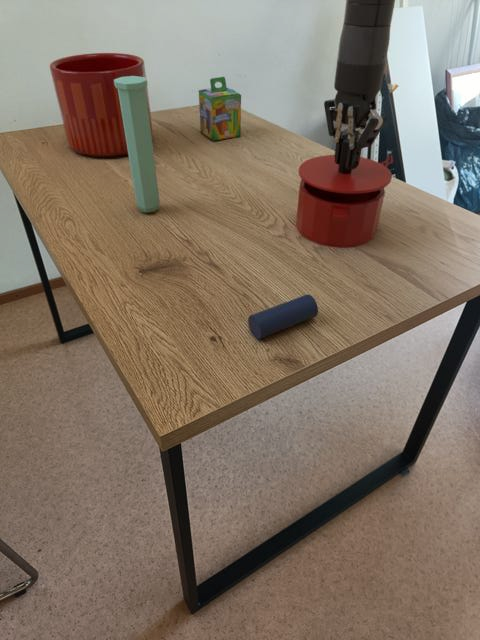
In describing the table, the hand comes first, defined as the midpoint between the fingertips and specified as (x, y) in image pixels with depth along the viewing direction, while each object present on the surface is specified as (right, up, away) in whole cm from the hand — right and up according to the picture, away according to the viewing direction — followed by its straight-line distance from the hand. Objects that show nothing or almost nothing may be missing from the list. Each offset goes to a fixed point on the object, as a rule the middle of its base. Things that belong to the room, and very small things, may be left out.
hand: (345, 165), depth 82 cm
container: (-38, -5, +14) cm, 41 cm away
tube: (-13, -29, -15) cm, 35 cm away
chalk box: (-25, +26, +50) cm, 61 cm away
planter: (-55, +21, +44) cm, 73 cm away
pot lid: (0, -1, +1) cm, 2 cm away
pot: (0, -9, +8) cm, 12 cm away
